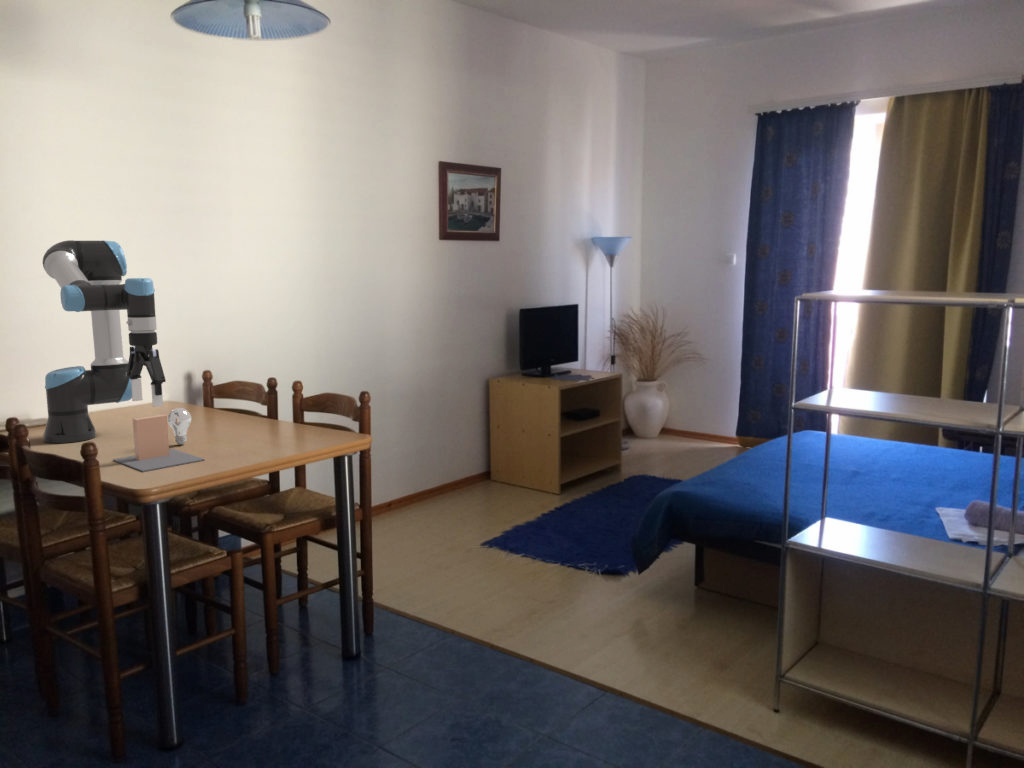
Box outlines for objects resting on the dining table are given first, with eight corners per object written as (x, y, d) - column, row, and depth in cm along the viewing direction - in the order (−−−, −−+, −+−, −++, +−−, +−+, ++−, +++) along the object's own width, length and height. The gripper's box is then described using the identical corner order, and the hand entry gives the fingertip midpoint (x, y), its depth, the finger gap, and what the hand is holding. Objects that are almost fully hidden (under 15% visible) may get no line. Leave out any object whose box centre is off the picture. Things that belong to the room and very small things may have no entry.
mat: (113, 460, 241) (113, 459, 241) (173, 450, 254) (173, 448, 254) (143, 472, 228) (142, 470, 227) (204, 460, 241) (204, 459, 241)
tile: (135, 459, 241) (132, 418, 239) (165, 453, 248) (163, 414, 246) (139, 460, 239) (136, 419, 238) (169, 454, 246) (166, 415, 244)
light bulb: (172, 448, 256) (170, 410, 254) (167, 444, 262) (164, 407, 260) (195, 445, 260) (193, 408, 258) (189, 441, 266) (187, 405, 264)
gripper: (111, 329, 244) (116, 400, 247) (148, 335, 227) (153, 410, 231) (137, 328, 250) (141, 396, 253) (175, 333, 233) (179, 406, 236)
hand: (147, 403), depth 242 cm, fingers open, 13 cm apart
